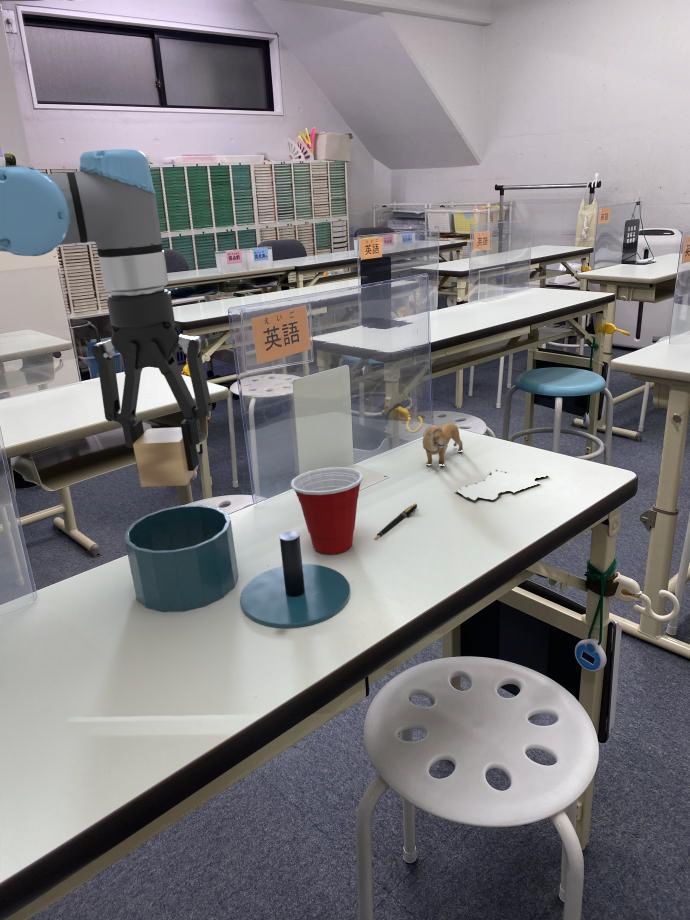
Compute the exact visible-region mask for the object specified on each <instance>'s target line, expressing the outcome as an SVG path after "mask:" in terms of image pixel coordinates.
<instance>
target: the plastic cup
mask: <svg viewBox="0 0 690 920" xmlns="http://www.w3.org/2000/svg"><path fill="white" fill-rule="evenodd" d="M363 474H364V473H363V472H362V471H360V470H358V469H356V468H351V467H343V466H342V467H340V466H331V467H323V468H322V467H321V468H316V469H312V470H309V471H306V472H303V473H301V474H298V475H297V476H295V477H294V478H293V479H292V480H291V482H290V487H291V488H292V489H293V490H294V492H295V494H296V497H297V499H298V502H299V503H300V507H301V510H302V514H303V517H304V521H305V524H306V528H307V532H308V534H309V536H310V540H311V544H312V547H313V549H314V551H316V552H317V553H319V554H321V555H327V556H333V555H340V554H344V553H345V552H347V551H349V550H350V549H351V547H352V546H353V542H354V541H353V540H354V532H355V529H356V528H355V527H356V518H357V509H358V499H359V495H360V494H359V493H360V489H361V488H360V487H361V484H362V482H363V479H364V475H363Z"/></svg>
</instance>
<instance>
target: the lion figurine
mask: <svg viewBox="0 0 690 920" xmlns="http://www.w3.org/2000/svg"><path fill="white" fill-rule="evenodd" d="M422 435H423V438H422V448H423V449H424V450H425V453H426V454H425V455H426V457H427V458H426V459H427V461H426V462H425V465H426V464H432V465H433V456H435V455H438V465H439V464H442V465H443V464H444V463H445V454H446V451H447V449H448V445H449V443H450V441H451V440H452V441H453V442H454V443H453V447H458V449H457V450H458V451H461V450H463V451H464V447H463V445H464V444H463V441H462V439H461V437H460V429H459V427H458V426H457V425H456V424H455V423H452V422H451V423H445V424H443V425H442V426H438V425H436V424H433V425H429V426H427V428H425V430H424V431H423V434H422ZM457 445H458V446H457Z"/></svg>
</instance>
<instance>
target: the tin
mask: <svg viewBox="0 0 690 920" xmlns="http://www.w3.org/2000/svg"><path fill="white" fill-rule="evenodd" d="M123 534H124V543H125V549H126V553H127V556H128V557H127V558H128V562H129V568H130V573H131V579H132V582H133V587H134V592H135V598H136V600H137V602H139V603H140V604H141V605H142V606H143V607H144V608H146V609H148V610H149V609H150V610H153V611H157V612H161V613H183V612H187V611H192V610H197V609H201V608H204V607H207V606H209V605H211V604H214V603H215V602H218V601H219V600H222V599H224V598H225V597H226V596H227V595H228V594H229V593H230V592H231V591H232V590H234V589H235V587H236V585H237V583H238V579H239V570H238V564H237V563H238V562H237V556H236V549H235V548H236V547H235V541H234V533H233V526H232V520H231V518H230V516H229V514H228V513H227V511H225V510H223V509H221V508H219V507H217V506H210V505H205V504H187V505H186V504H185V505H184V504H182V505H178V506H171V507H167V508H162V509H159V510H156V511H154V512H152V513H148V514H146V515H144V516H141V517H140V518H139V519H138V520H136V521H134V522H133V523H131V524H130V526H129V527H128V528H127V530H126V531H125V532H124V533H123Z"/></svg>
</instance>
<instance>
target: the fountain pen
mask: <svg viewBox="0 0 690 920" xmlns="http://www.w3.org/2000/svg"><path fill="white" fill-rule="evenodd" d="M417 508H418V504H417V502H415V503H413V504H412V505H409V507H407V508H405V509H404V510H403V511H401V512H400V513H399V514H398V515H397V516H396V517H395V518H394V519H392V520H391V521H390V522H389V523H388V524H386V526H384V527H383V528H382V529H381V530H380V531H379V532H378V533H377V534H376V536H375V537H373V540H377V539H379V538H382V537H383V536H384V535H385V534H387V533H388V532H389V531H391V530H392V529H393V528H395V527H396V526H397V525H399V523H401V522H402V521H403V520H405V519H408V518H409V517H410V516H411V515H412V514H413V513H414V512H415V511H416V509H417ZM411 513H412V514H411ZM410 514H411V515H410ZM409 515H410V516H409Z"/></svg>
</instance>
